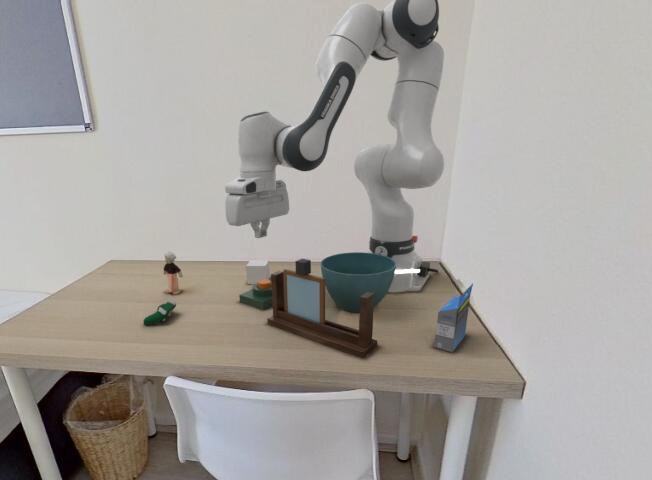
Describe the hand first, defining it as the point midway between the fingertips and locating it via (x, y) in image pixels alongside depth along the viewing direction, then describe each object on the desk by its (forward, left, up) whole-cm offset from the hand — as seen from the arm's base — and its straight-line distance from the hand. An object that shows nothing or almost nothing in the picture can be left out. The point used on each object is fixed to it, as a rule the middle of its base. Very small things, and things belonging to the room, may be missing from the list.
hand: (260, 237), depth 103 cm
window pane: (+8, +20, -16) cm, 27 cm away
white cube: (-10, -12, -18) cm, 24 cm away
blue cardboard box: (-6, +48, -18) cm, 52 cm away
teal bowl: (-10, +23, -18) cm, 31 cm away
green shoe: (+25, -13, -18) cm, 33 cm away
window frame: (+8, +24, -18) cm, 31 cm away
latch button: (0, 0, -14) cm, 14 cm away
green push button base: (0, 0, -18) cm, 18 cm away
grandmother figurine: (+12, -26, -18) cm, 34 cm away
